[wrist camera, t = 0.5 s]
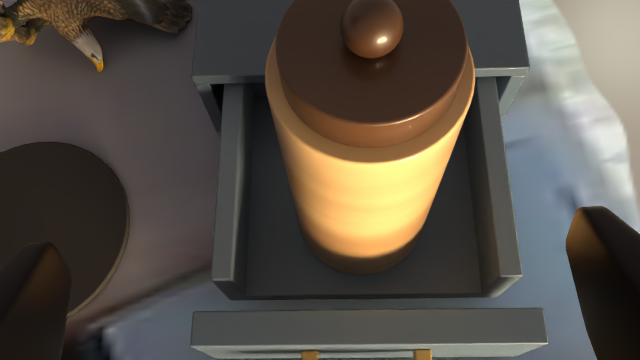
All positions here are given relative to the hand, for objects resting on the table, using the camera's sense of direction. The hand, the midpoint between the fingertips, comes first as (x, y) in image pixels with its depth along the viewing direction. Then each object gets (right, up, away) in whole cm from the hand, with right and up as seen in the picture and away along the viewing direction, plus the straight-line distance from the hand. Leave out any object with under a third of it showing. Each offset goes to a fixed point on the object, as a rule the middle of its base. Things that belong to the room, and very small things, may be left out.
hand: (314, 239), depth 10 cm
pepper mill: (+2, 0, +14) cm, 15 cm away
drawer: (+2, -2, +15) cm, 15 cm away
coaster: (-13, -1, +17) cm, 21 cm away
